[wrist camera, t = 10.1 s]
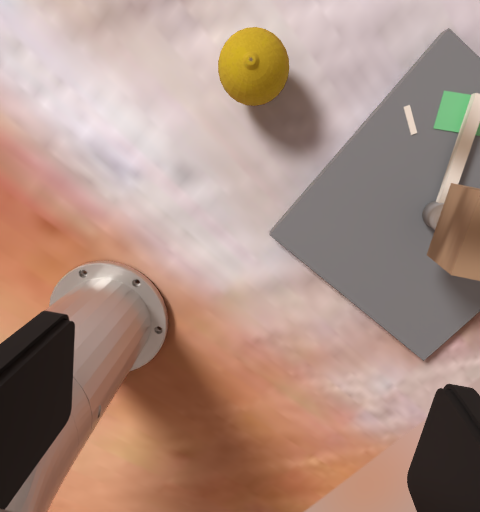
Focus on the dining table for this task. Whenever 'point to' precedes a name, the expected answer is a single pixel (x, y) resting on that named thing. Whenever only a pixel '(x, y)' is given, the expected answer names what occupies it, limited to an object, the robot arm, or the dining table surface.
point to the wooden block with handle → (457, 208)
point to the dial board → (395, 204)
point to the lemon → (253, 66)
